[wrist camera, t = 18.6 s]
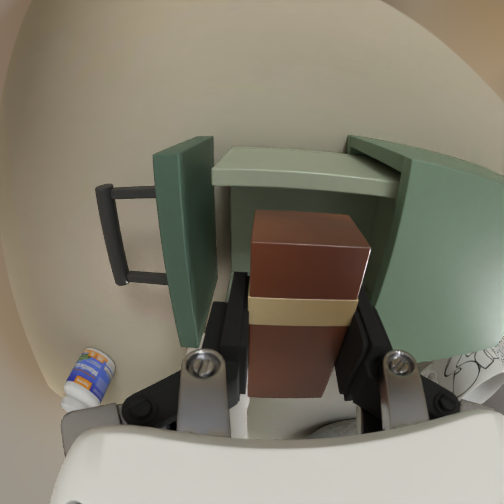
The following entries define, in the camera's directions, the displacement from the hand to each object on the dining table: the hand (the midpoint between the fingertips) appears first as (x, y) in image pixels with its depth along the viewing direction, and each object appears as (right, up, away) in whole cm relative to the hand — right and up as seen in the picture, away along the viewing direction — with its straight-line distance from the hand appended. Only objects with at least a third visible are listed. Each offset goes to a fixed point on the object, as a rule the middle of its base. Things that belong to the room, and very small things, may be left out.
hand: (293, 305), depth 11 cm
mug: (+23, -10, +16) cm, 30 cm away
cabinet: (+12, +5, +9) cm, 16 cm away
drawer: (-2, +5, +9) cm, 10 cm away
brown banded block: (0, 0, 0) cm, 0 cm away
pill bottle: (-23, -13, +21) cm, 34 cm away
